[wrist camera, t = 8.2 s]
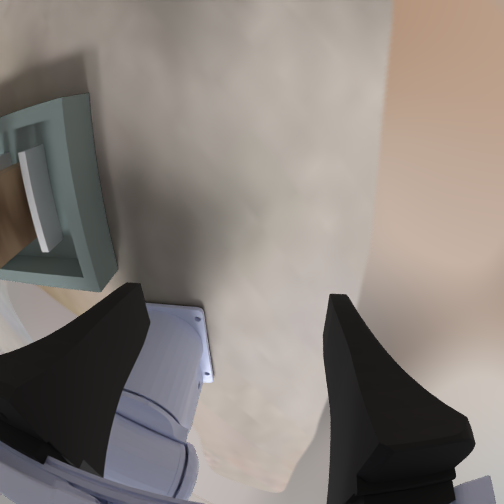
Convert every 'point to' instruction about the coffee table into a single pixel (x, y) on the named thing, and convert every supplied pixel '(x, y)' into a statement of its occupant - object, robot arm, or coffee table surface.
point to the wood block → (14, 214)
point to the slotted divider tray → (59, 196)
